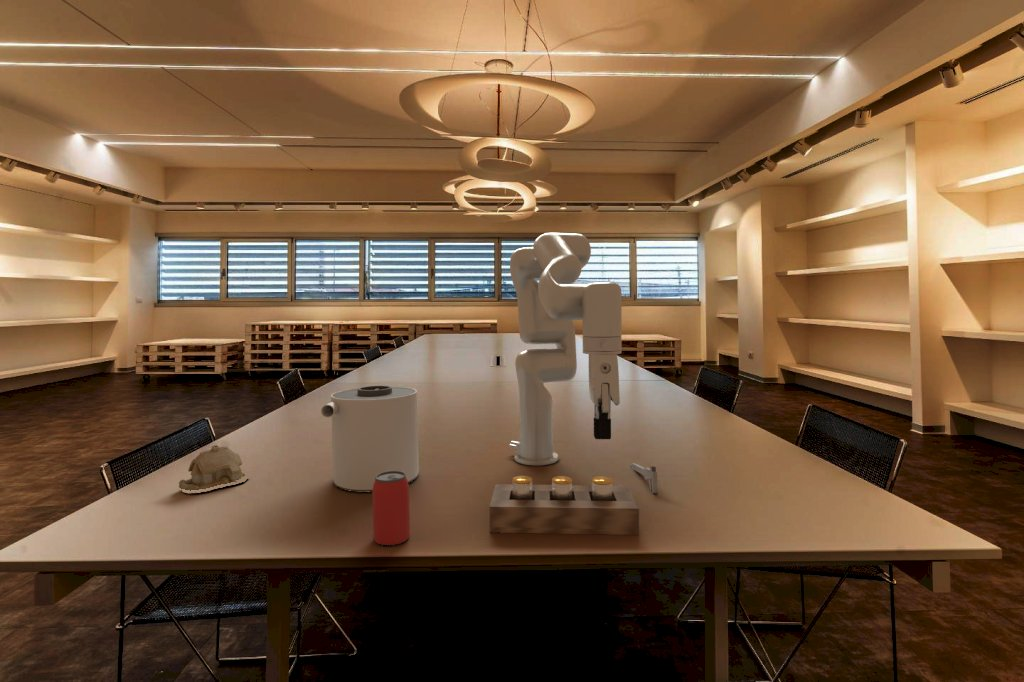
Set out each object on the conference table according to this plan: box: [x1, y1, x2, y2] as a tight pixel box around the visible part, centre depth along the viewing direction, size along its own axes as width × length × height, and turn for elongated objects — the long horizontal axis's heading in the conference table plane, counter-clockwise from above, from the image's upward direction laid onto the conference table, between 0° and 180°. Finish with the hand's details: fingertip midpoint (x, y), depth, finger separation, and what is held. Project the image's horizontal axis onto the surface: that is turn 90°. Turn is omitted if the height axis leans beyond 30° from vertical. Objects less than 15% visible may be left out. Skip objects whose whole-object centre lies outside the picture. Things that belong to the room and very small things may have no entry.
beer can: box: [371, 471, 411, 547], centre depth 88 cm, size 7×7×12 cm
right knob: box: [591, 475, 613, 501], centre depth 95 cm, size 4×4×5 cm
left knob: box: [511, 475, 533, 500], centre depth 95 cm, size 4×4×5 cm
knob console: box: [489, 483, 640, 536], centre depth 95 cm, size 28×12×5 cm, turn 86°
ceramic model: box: [178, 445, 245, 491], centre depth 118 cm, size 14×11×10 cm
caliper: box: [630, 462, 658, 494], centre depth 119 cm, size 20×1×6 cm, turn 0°
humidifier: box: [320, 385, 420, 491], centre depth 120 cm, size 22×21×23 cm
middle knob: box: [551, 475, 573, 501], centre depth 95 cm, size 4×4×5 cm
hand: (602, 438), depth 94 cm, fingers closed
